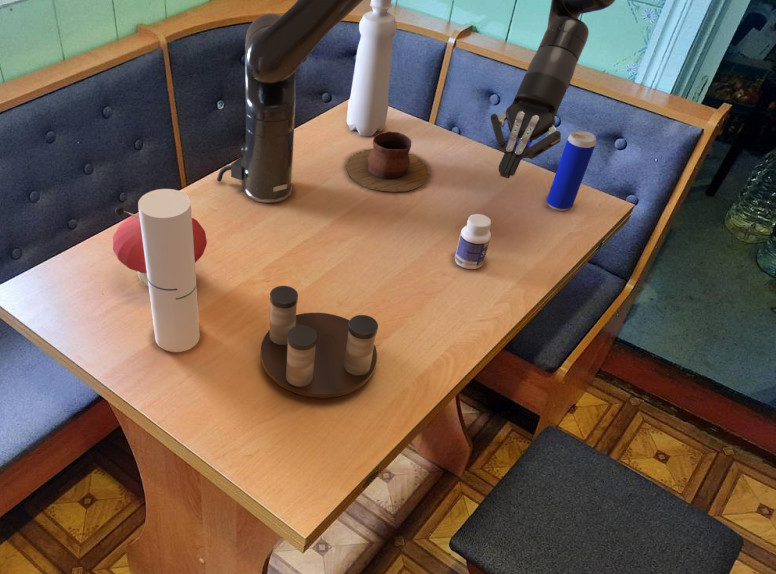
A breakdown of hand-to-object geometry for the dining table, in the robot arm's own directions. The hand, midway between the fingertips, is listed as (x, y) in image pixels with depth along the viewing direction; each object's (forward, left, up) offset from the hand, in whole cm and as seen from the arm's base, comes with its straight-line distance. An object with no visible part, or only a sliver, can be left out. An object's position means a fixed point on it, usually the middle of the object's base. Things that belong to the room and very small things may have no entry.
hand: (504, 175), depth 126 cm
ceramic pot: (-27, +15, -15) cm, 34 cm away
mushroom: (-45, -40, -15) cm, 62 cm away
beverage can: (+8, +22, -15) cm, 28 cm away
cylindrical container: (-34, -51, -15) cm, 63 cm away
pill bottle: (-1, -6, -15) cm, 16 cm away
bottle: (-39, +29, -15) cm, 51 cm away
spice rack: (-12, -44, -13) cm, 47 cm away
